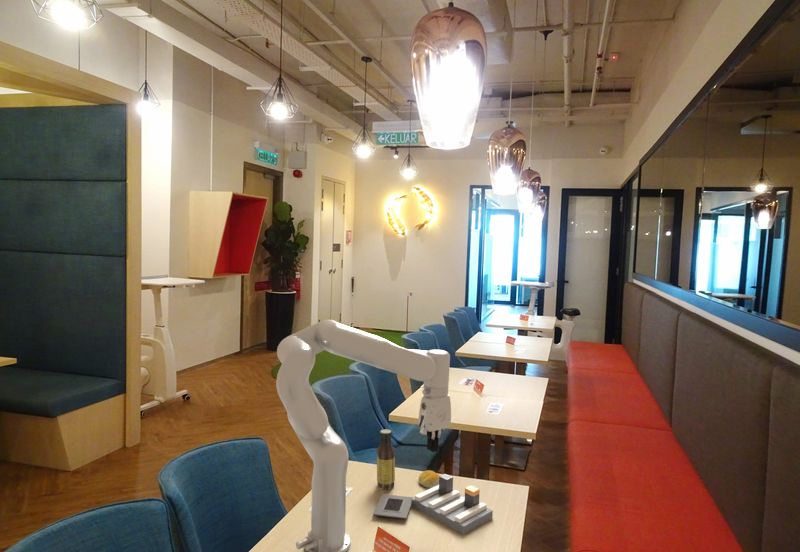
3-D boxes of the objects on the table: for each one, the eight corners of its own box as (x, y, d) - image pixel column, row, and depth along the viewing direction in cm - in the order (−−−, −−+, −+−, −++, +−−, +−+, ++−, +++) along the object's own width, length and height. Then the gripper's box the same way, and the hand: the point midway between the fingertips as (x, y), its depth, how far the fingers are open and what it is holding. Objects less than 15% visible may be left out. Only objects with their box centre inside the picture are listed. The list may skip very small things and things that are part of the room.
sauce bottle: (385, 480, 190) (386, 426, 188) (398, 485, 185) (399, 430, 184) (372, 486, 185) (373, 430, 183) (386, 492, 181) (387, 435, 179)
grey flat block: (406, 524, 161) (406, 516, 161) (372, 520, 163) (372, 512, 163) (413, 503, 174) (413, 496, 174) (382, 500, 176) (382, 493, 176)
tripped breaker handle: (473, 509, 165) (473, 492, 164) (464, 504, 167) (464, 488, 167) (479, 505, 167) (479, 489, 167) (470, 501, 169) (470, 485, 169)
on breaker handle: (446, 496, 173) (447, 479, 172) (438, 492, 175) (439, 476, 175) (452, 493, 175) (453, 477, 174) (444, 489, 177) (445, 473, 177)
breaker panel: (463, 534, 155) (464, 522, 155) (411, 506, 171) (411, 494, 171) (492, 518, 165) (492, 506, 165) (440, 492, 181) (440, 481, 181)
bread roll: (431, 475, 194) (432, 465, 194) (446, 485, 187) (447, 474, 187) (413, 481, 190) (413, 470, 190) (427, 491, 182) (428, 480, 182)
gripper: (426, 397, 152) (423, 460, 153) (461, 390, 162) (458, 448, 163) (409, 391, 158) (406, 451, 159) (443, 384, 168) (440, 441, 169)
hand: (432, 450), depth 161 cm, fingers closed
